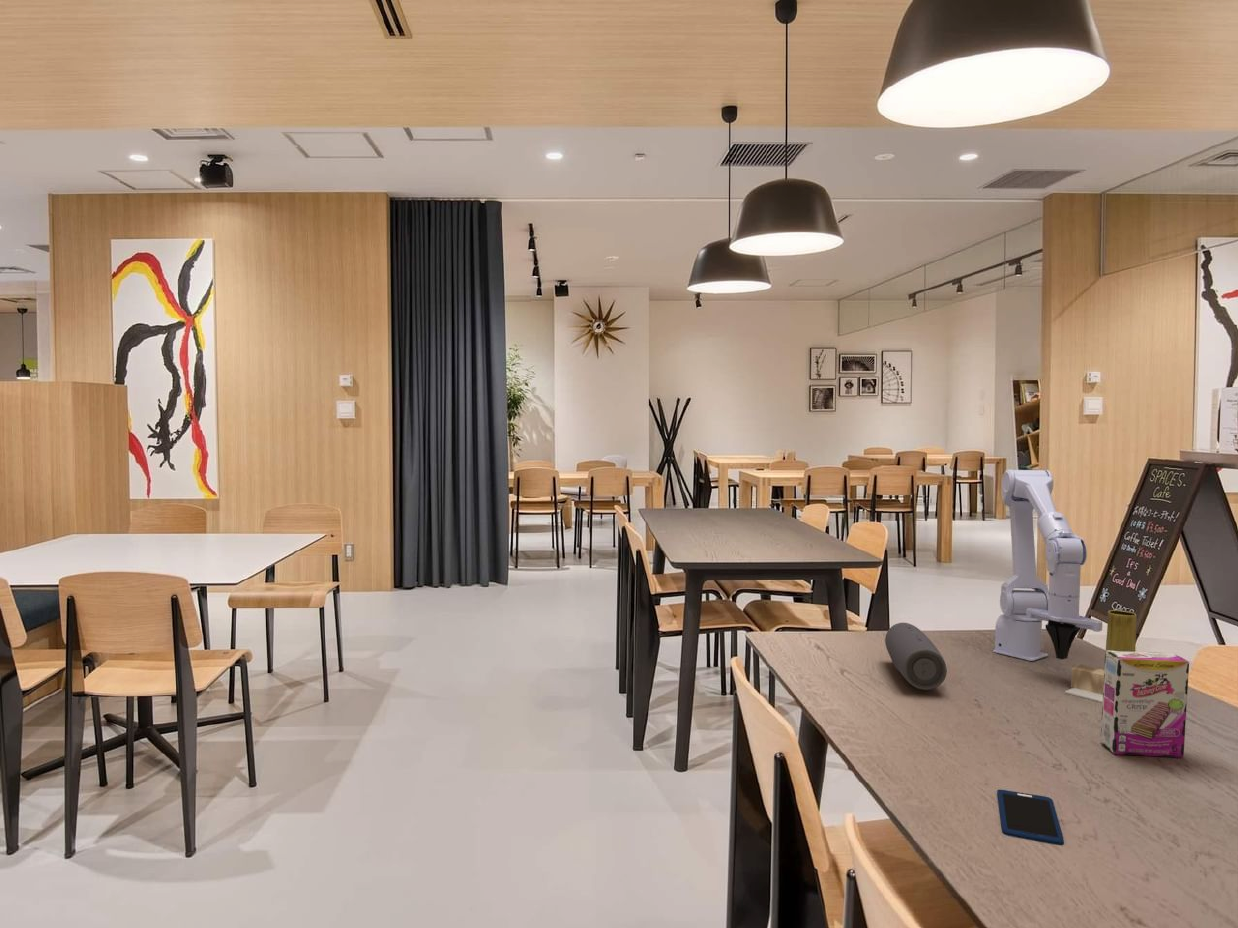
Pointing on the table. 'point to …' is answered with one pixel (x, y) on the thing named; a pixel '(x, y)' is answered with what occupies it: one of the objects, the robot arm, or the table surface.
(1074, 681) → the block
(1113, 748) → the candy bar box
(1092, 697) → the mat
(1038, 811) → the cell phone
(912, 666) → the bluetooth speaker
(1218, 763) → the table surface
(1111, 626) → the vase
